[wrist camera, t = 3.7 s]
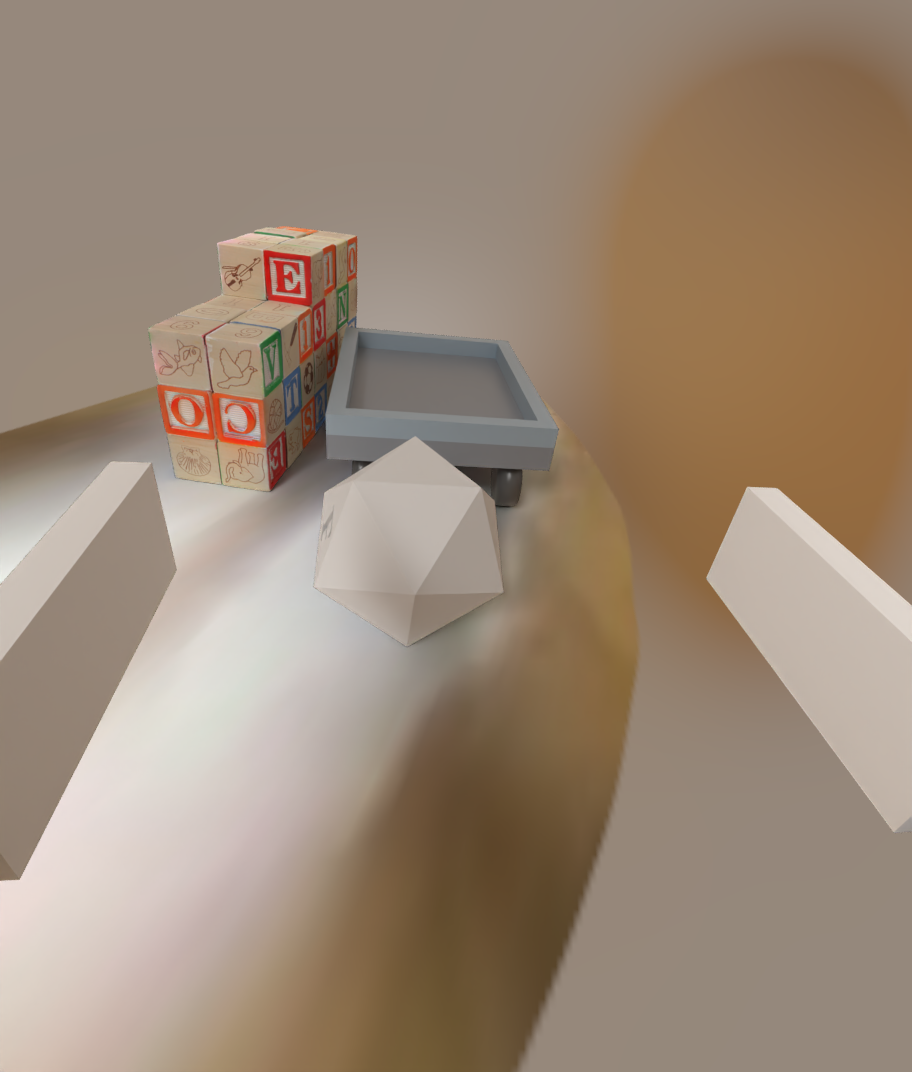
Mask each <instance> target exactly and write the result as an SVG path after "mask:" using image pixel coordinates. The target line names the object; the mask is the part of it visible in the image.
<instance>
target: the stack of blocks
mask: <svg viewBox="0 0 912 1072" xmlns="http://www.w3.org/2000/svg"><path fill="white" fill-rule="evenodd" d="M217 251H218V260H219V270H220V279H221V288H222V295H221V296H218V297H216V298H214V299H211V300H209V301H207V302H205V303H203V304H199V305H197V306H195V307H192V308H190V309H188V310H186V311H184V312H181V313H179V314H177V315H176V316H173V317H171V318H169V319H167V320H165V321H162V322H160V323H158V324H156V325H153V326H151V327H149V328H148V333H149V338H150V345H151V349H152V354H153V359H154V365H155V371H156V375H157V379H158V383H159V384H158V385H157V392H158V397H159V402H160V407H161V412H162V417H163V422H164V427H165V430H166V432H167V440H168V445H169V449H170V454H171V459H172V463H173V469H174V474H175V477H176V478H181V479H188V480H194V481H201V482H208V483H214V484H223V485H226V486H233V487H239V488H247V489H253V490H260V491H271V490H272V488H273V487H274V485H275V484H276V483H277V481H278V480H279V479H280V477H281V476H282V475H283V473H284V472H285V471H286V469H288V468H289V467H290V466H291V465H292V464H293V462H294V461H295V460H296V458H297V457H298V456H299V454H300V453H301V451H302V449H304V448H305V447H306V445H307V444H308V443H309V442H310V440H311V439H312V438H313V436H314V435H315V434H316V431H317V430H318V429H319V427H320V426H321V425H322V423H323V422H324V421H325V420H326V410H327V406H328V401H329V397H330V393H331V389H332V384H333V380H334V376H335V372H336V367H337V363H338V359H339V355H340V350H341V346H342V342H343V338H344V333H345V329H346V327H354V328H356V313H357V277H356V275H357V236H354V235H347V234H340V233H334V232H327V231H317V230H310V229H302V228H293V227H286V226H281V227H278V228H270V227H267V228H264V229H259V230H256V231H254V233H249V234H246V235H243V236H240V237H237V238H233V239H230V240H226V241H223V242H219V243H217Z"/></svg>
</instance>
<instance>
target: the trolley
mask: <svg viewBox="0 0 912 1072" xmlns="http://www.w3.org/2000/svg"><path fill="white" fill-rule="evenodd" d="M558 431H559V429H558V427H557V425H556V423H555V422H554V420H553V418H552V416H551V415H550V413H549V411H548V410H547V408H546V406H545V404H544V403H543V401H542V399H541V398H540V396H539V394H538V392H537V391H536V389H535V387H534V385H533V384H532V382H531V380H530V379H529V377H528V375H527V373H526V372H525V370H524V368H523V366H522V365H521V363H520V361H519V360H518V358H517V356H516V354H515V353H514V351H513V349H512V348H511V346H510V344H509V342H508V341H502V340H491V339H480V338H467V337H457V336H456V337H455V336H445V335H434V334H422V333H411V332H399V331H388V330H377V329H365V328H354V327H346V329H345V333H344V338H343V342H342V346H341V350H340V355H339V359H338V363H337V367H336V372H335V376H334V380H333V384H332V389H331V393H330V397H329V401H328V406H327V410H326V452H327V459H338V460H353V464H352V475H353V474H355V473H356V472H358V471H360V470H361V469H363V468H364V467H366V466H368V465H369V464H371V463H373V462H374V461H376V460H377V459H379V458H381V457H382V456H384V455H385V454H387V453H389V452H390V451H392V450H394V449H395V448H397V447H398V446H400V445H402V444H403V443H405V442H406V441H408V440H410V439H411V438H413V437H415V436H416V437H417V438H418V439H420V440H421V441H422V442H424V443H425V444H426V445H427V446H429V447H430V448H431V449H433V450H434V451H435V452H436V453H438V454H439V455H440V456H441V457H443V458H444V459H445V460H447V461H448V462H449V463H450V464H452V465H453V466H468V467H487V468H492V474H491V494H492V499H493V500H494V501H495V505H504V506H515V505H516V504H517V502H518V499H519V496H520V491H521V485H522V469H524V470H542V471H549V469H550V465H551V460H552V456H553V452H554V448H555V443H556V439H557V435H558Z"/></svg>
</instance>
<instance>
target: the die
mask: <svg viewBox="0 0 912 1072" xmlns="http://www.w3.org/2000/svg"><path fill="white" fill-rule="evenodd" d="M313 587H314V588H316V589H317V590H319V591H320V592H322V593H323V594H325V595H326V596H328V597H330V598H331V599H333V600H334V601H336V602H337V603H339V604H341V605H342V606H344V607H345V608H347V609H348V610H350V611H351V612H353V613H355V614H356V615H358V616H359V617H361V618H362V619H364V620H365V621H367V622H369V623H370V624H372V625H373V626H375V627H376V628H378V629H380V630H381V631H383V632H384V633H386V634H387V635H389V636H390V637H392V638H394V639H395V640H397V641H398V642H400V643H401V644H403V645H404V646H406V647H408V646H409V645H411V644H413V643H415V642H417V641H418V640H420V639H422V638H424V637H426V636H427V635H429V634H431V633H433V632H434V631H436V630H438V629H440V628H442V627H443V626H445V625H447V624H449V623H450V622H452V621H454V620H456V619H458V618H459V617H461V616H463V615H465V614H467V613H468V612H470V611H472V610H474V609H475V608H477V607H479V606H481V605H483V604H484V603H486V602H488V601H490V600H492V599H493V598H495V597H497V596H499V595H500V594H502V593H504V589H503V579H502V569H501V559H500V549H499V539H498V528H497V518H496V508H495V501H494V500H493V499H492V498H491V497H490V496H489V495H488V494H487V493H486V492H485V491H484V490H483V489H482V488H481V487H480V486H479V485H477V484H476V483H475V482H473V481H472V480H471V479H470V478H468V477H467V476H466V475H464V474H463V473H462V472H461V471H459V470H458V469H457V468H456V467H454V466H453V465H452V464H450V463H449V462H448V461H447V460H445V459H444V458H443V457H441V456H440V455H439V454H438V453H436V452H435V451H434V450H433V449H431V448H430V447H429V446H427V445H426V444H425V443H424V442H422V441H421V440H420V439H418V438H417V437H416V436H415V437H413V438H411V439H410V440H408V441H406V442H405V443H403V444H402V445H400V446H398V447H397V448H395V449H394V450H392V451H390V452H389V453H387V454H385V455H384V456H382V457H381V458H379V459H377V460H376V461H374V462H373V463H371V464H369V465H368V466H366V467H364V468H363V469H361V470H360V471H358V472H356V473H355V474H353V475H351V476H350V477H348V478H347V479H345V480H343V481H342V482H340V483H339V484H337V485H335V486H334V487H332V488H330V489H329V490H327V491H326V492H324V500H323V508H322V517H321V526H320V534H319V543H318V552H317V560H316V569H315V577H314V586H313Z"/></svg>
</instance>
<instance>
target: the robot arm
mask: <svg viewBox="0 0 912 1072" xmlns="http://www.w3.org/2000/svg"><path fill="white" fill-rule="evenodd" d="M176 571H177V569H176V565H175V560H174V556H173V552H172V548H171V543H170V539H169V535H168V530H167V526H166V522H165V518H164V513H163V509H162V505H161V501H160V496H159V492H158V488H157V484H156V479H155V475H154V471H153V466H152V463H144V462H119V461H111V462H110V463H109V464H108V465H107V466H106V467H105V468H104V470H103V471H102V472H101V473H100V474H99V475H98V476H97V477H96V478H95V480H94V481H93V482H92V483H91V484H90V485H89V486H88V487H87V488H86V490H85V491H84V492H83V493H82V494H81V495H80V496H79V497H78V499H77V500H76V501H75V502H74V503H73V504H72V505H71V506H70V507H69V509H68V510H67V511H66V512H65V513H64V514H63V515H62V516H61V517H60V519H59V520H58V521H57V522H56V523H55V524H54V525H53V526H52V527H51V529H50V530H49V531H48V532H47V533H46V534H45V535H44V536H43V538H42V539H41V540H40V541H39V542H38V543H37V544H36V545H35V546H34V548H33V549H32V550H31V551H30V552H29V553H28V554H27V555H26V556H25V558H24V559H23V560H22V561H21V562H20V563H19V564H18V565H17V566H16V568H15V569H14V570H13V571H12V572H11V573H10V574H9V575H8V577H7V578H6V579H5V580H4V581H3V582H2V583H1V584H0V881H4V880H20V878H21V876H22V874H23V872H24V870H25V868H26V866H27V864H28V862H29V860H30V858H31V856H32V854H33V852H34V850H35V848H36V846H37V844H38V842H39V840H40V838H41V836H42V834H43V832H44V831H45V829H46V827H47V825H48V823H49V821H50V819H51V817H52V815H53V813H54V811H55V809H56V807H57V805H58V803H59V801H60V799H61V797H62V795H63V793H64V791H65V789H66V787H67V785H68V783H69V781H70V779H71V777H72V775H73V773H74V771H75V769H76V767H77V766H78V764H79V762H80V760H81V758H82V756H83V754H84V752H85V750H86V748H87V746H88V744H89V742H90V740H91V738H92V736H93V734H94V732H95V730H96V728H97V726H98V724H99V722H100V720H101V718H102V716H103V714H104V712H105V710H106V708H107V706H108V704H109V703H110V701H111V699H112V697H113V695H114V693H115V691H116V689H117V687H118V685H119V683H120V681H121V679H122V677H123V675H124V673H125V671H126V669H127V667H128V665H129V663H130V661H131V659H132V657H133V655H134V653H135V651H136V649H137V647H138V645H139V643H140V641H141V640H142V638H143V636H144V634H145V632H146V630H147V628H148V626H149V624H150V622H151V620H152V618H153V616H154V614H155V612H156V610H157V608H158V606H159V604H160V602H161V600H162V598H163V596H164V594H165V592H166V590H167V588H168V586H169V584H170V582H171V580H172V578H173V577H174V575H175V573H176ZM706 579H707V580H708V582H709V583H710V584H711V586H712V587H713V589H714V590H715V591H716V593H717V594H718V595H719V597H720V598H721V599H722V601H723V602H724V603H725V605H726V606H727V607H728V609H729V610H730V611H731V613H732V614H733V615H734V617H735V618H736V620H737V621H738V622H739V624H740V625H741V626H742V628H743V629H744V631H745V632H746V633H747V635H748V636H749V637H750V639H751V640H752V641H753V643H754V644H755V645H756V647H757V648H758V649H759V651H760V652H761V654H762V655H763V656H764V658H765V659H766V660H767V662H768V663H769V664H770V666H771V667H772V668H773V670H774V671H775V673H776V674H777V675H778V677H779V678H780V679H781V681H782V682H783V683H784V685H785V686H786V687H787V689H788V690H789V691H790V693H791V694H792V695H793V697H794V698H795V700H796V701H797V702H798V704H799V705H800V706H801V708H802V709H803V710H804V712H805V713H806V715H807V716H808V717H809V719H810V720H811V721H812V723H813V724H814V725H815V727H816V728H817V729H818V731H819V732H820V733H821V735H822V736H823V738H824V739H825V740H826V742H827V743H828V744H829V746H830V747H831V748H832V750H833V751H834V752H835V754H836V755H837V756H838V758H839V759H840V760H841V762H842V763H843V765H844V766H845V767H846V769H847V770H848V771H849V773H850V774H851V775H852V777H853V778H854V780H855V781H856V782H857V784H858V785H859V786H860V788H861V789H862V790H863V792H864V793H865V794H866V796H867V797H868V799H869V800H870V801H871V803H872V804H873V805H874V806H875V808H876V809H877V811H878V812H879V813H880V815H881V816H882V817H883V819H884V820H885V822H886V823H887V824H888V826H889V827H890V828H891V830H892V831H893V832H894V833H900V832H912V605H910V604H909V603H908V602H907V601H906V600H904V599H903V598H902V597H901V596H900V595H899V594H898V593H897V592H895V591H894V590H893V589H892V588H891V587H890V586H889V585H887V584H886V583H885V582H884V581H883V580H882V579H880V578H879V577H878V576H877V575H876V574H875V573H874V572H873V571H871V570H870V569H869V568H868V567H867V566H866V565H864V564H863V563H862V562H861V561H860V560H859V559H858V558H856V557H855V556H854V555H853V554H852V553H851V552H850V551H849V550H847V549H846V548H845V547H844V546H843V545H842V544H840V543H839V542H838V541H837V540H836V539H835V538H834V537H832V536H831V535H830V534H829V533H828V532H827V531H826V530H824V529H823V528H822V527H821V526H820V525H819V524H818V523H816V522H815V521H814V520H813V519H812V518H811V517H809V516H808V515H807V514H806V513H805V512H804V511H802V509H800V508H799V507H798V506H797V505H796V504H794V503H793V502H792V501H791V500H790V499H789V498H788V497H787V496H785V495H784V494H783V493H782V492H781V491H780V490H779V489H777V488H760V487H747V489H746V491H745V493H744V495H743V498H742V500H741V502H740V504H739V507H738V509H737V511H736V513H735V516H734V518H733V520H732V522H731V524H730V526H729V529H728V531H727V533H726V535H725V538H724V540H723V542H722V544H721V546H720V549H719V551H718V553H717V555H716V558H715V560H714V562H713V564H712V567H711V569H710V571H709V573H708V575H707V578H706Z"/></svg>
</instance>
